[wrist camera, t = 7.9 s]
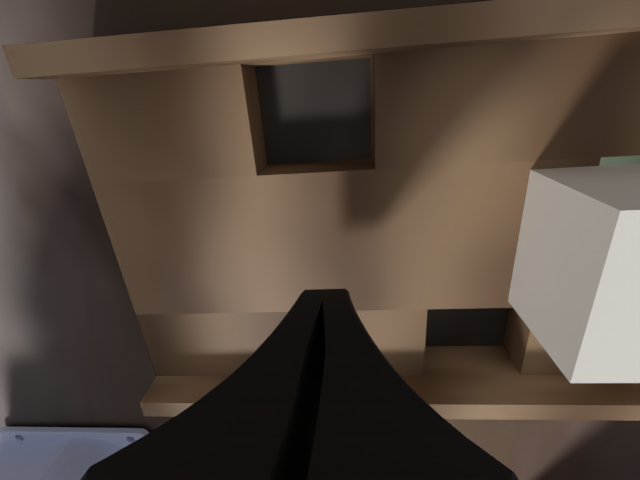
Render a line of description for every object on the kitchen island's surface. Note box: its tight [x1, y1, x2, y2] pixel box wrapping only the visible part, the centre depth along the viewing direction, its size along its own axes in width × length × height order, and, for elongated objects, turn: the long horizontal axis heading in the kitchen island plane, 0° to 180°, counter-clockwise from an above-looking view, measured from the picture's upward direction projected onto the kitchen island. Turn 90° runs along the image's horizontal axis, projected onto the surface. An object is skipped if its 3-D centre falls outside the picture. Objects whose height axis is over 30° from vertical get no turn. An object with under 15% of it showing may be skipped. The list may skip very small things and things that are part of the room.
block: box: [508, 164, 640, 383], centre depth 10 cm, size 5×5×4 cm
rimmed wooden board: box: [2, 0, 640, 421], centre depth 13 cm, size 22×14×4 cm, turn 94°
